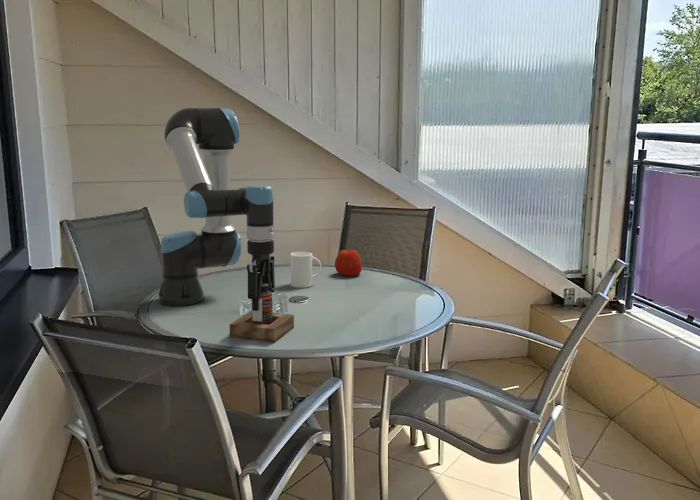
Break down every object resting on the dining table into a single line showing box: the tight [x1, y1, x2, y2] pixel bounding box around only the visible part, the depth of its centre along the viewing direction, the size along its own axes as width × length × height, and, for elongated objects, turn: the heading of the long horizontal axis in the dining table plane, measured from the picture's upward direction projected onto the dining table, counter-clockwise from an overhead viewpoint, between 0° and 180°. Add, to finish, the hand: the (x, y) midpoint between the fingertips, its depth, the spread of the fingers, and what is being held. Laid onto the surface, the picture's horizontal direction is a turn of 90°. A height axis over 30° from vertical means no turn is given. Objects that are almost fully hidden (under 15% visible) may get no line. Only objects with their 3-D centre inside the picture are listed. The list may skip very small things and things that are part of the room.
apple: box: [334, 248, 363, 277], centre depth 259 cm, size 11×11×11 cm
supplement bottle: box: [253, 283, 273, 324], centre depth 188 cm, size 6×6×11 cm
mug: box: [289, 251, 323, 289], centre depth 243 cm, size 12×8×12 cm
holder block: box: [229, 309, 295, 344], centre depth 190 cm, size 14×14×4 cm
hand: (262, 317), depth 189 cm, fingers closed on supplement bottle, 6 cm apart
